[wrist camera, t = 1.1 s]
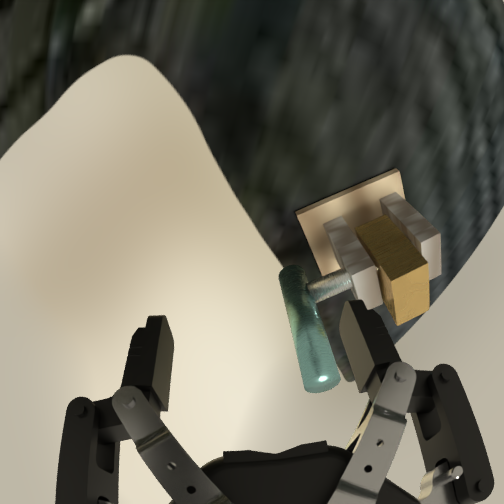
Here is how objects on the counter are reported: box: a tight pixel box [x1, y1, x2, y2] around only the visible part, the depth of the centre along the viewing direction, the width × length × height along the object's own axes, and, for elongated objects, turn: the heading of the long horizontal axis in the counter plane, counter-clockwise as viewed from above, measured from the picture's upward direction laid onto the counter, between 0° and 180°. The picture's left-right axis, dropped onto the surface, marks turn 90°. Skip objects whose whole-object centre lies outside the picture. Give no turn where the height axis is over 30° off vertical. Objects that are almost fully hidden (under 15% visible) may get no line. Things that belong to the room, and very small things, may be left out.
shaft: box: [279, 238, 415, 393], centre depth 28 cm, size 18×3×15 cm, turn 115°
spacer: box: [355, 214, 429, 326], centre depth 29 cm, size 4×7×9 cm, turn 25°
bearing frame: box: [295, 168, 441, 310], centre depth 32 cm, size 14×11×11 cm
